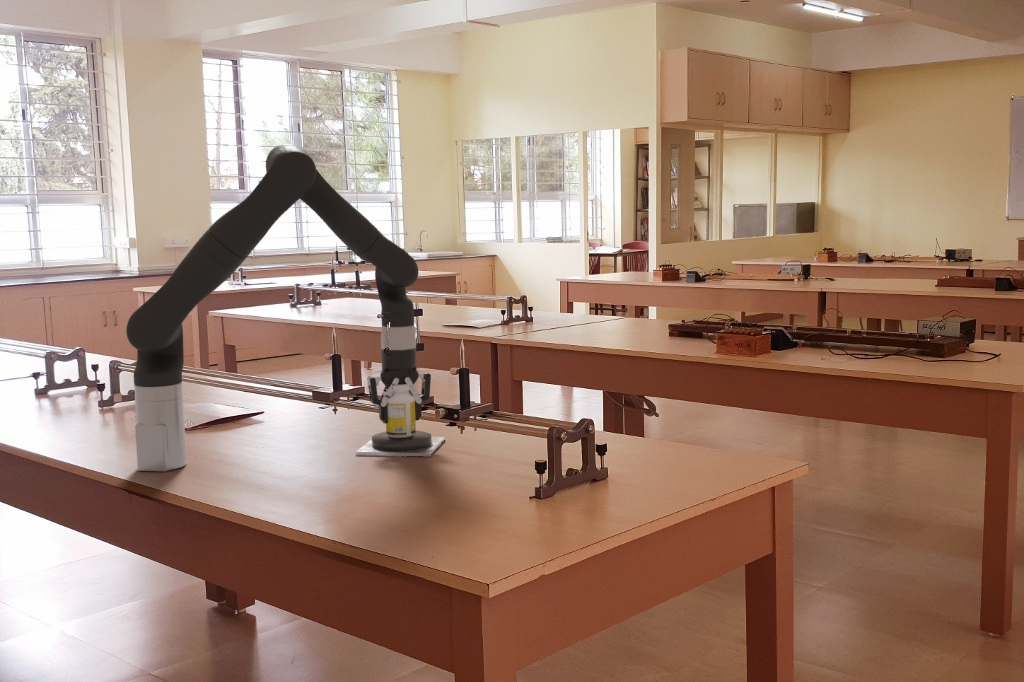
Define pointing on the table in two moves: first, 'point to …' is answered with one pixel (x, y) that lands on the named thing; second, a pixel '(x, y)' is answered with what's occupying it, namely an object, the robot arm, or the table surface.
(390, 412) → the pill bottle
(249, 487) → the table surface
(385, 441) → the stand
